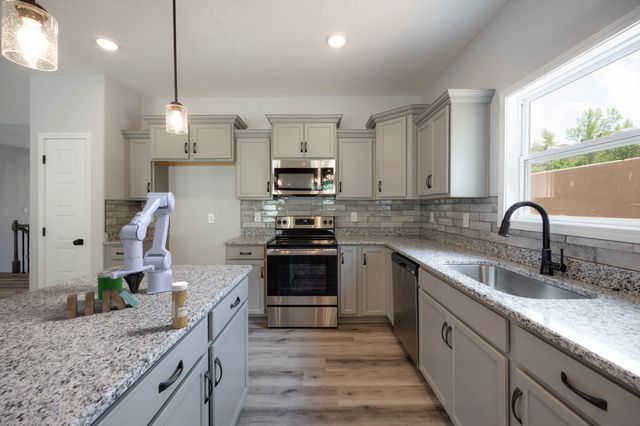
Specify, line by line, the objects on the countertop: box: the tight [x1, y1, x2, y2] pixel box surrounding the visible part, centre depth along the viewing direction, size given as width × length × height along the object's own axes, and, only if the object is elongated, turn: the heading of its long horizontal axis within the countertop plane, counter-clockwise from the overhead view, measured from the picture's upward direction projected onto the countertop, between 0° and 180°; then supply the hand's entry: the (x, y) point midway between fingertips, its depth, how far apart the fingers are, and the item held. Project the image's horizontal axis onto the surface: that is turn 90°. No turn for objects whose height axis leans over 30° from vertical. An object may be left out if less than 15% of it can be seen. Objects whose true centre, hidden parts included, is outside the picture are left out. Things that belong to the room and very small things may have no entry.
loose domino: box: [119, 287, 140, 308], centre depth 97 cm, size 2×4×7 cm
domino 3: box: [101, 289, 112, 314], centre depth 93 cm, size 2×4×7 cm, turn 36°
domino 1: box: [66, 293, 79, 321], centre depth 88 cm, size 2×4×7 cm, turn 36°
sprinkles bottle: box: [171, 281, 189, 329], centre depth 81 cm, size 5×5×14 cm
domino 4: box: [110, 288, 126, 311], centre depth 95 cm, size 2×4×7 cm, turn 36°
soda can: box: [97, 268, 123, 305], centre depth 102 cm, size 8×8×12 cm
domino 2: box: [84, 291, 96, 317], centre depth 91 cm, size 2×4×7 cm, turn 36°
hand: (134, 292), depth 98 cm, fingers closed
